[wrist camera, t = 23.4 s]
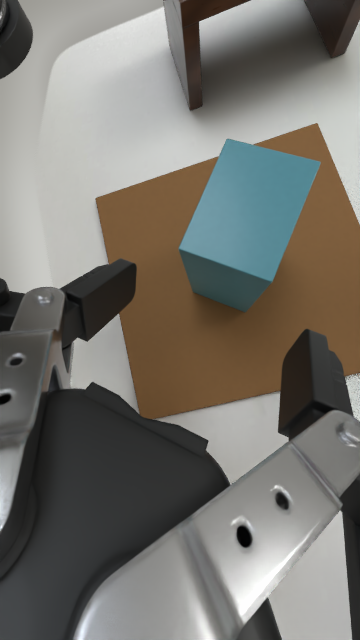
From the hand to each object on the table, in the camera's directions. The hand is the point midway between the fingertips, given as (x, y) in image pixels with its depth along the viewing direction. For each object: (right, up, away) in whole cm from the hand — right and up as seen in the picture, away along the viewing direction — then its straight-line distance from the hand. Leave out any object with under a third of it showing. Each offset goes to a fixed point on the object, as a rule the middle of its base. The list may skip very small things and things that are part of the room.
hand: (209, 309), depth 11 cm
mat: (+3, +4, +8) cm, 9 cm away
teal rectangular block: (+3, +4, +8) cm, 9 cm away
